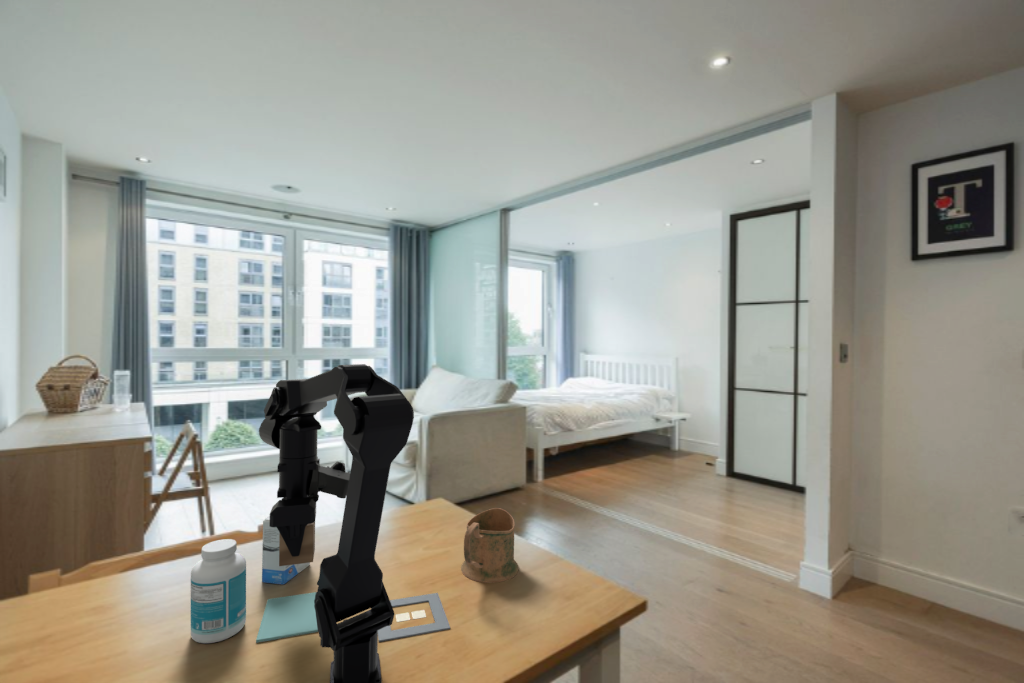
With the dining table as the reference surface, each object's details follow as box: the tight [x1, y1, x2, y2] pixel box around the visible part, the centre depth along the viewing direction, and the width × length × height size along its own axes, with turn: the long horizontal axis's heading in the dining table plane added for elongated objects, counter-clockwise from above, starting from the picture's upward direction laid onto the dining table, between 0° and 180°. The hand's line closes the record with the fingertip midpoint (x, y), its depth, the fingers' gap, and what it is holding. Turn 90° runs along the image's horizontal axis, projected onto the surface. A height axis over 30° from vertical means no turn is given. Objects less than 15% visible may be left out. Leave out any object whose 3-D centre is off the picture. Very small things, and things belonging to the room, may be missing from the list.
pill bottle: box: [190, 538, 247, 644], centre depth 75 cm, size 8×7×14 cm
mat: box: [255, 591, 319, 644], centre depth 80 cm, size 12×10×1 cm
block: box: [279, 521, 316, 566], centre depth 80 cm, size 5×5×6 cm
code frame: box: [378, 592, 451, 643], centre depth 80 cm, size 11×11×1 cm
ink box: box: [261, 515, 311, 585], centre depth 94 cm, size 8×5×12 cm, turn 168°
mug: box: [460, 507, 519, 584], centre depth 94 cm, size 12×18×12 cm, turn 161°
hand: (297, 549), depth 80 cm, fingers closed on block, 5 cm apart
